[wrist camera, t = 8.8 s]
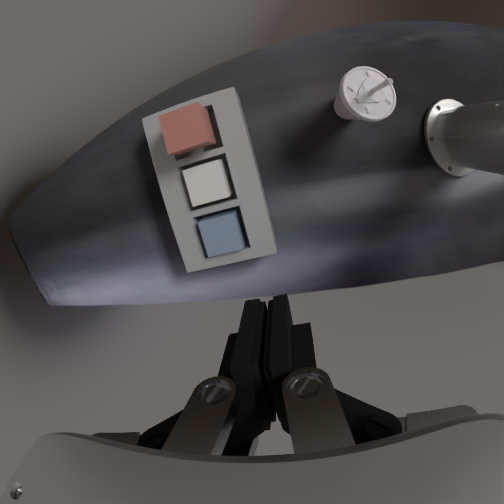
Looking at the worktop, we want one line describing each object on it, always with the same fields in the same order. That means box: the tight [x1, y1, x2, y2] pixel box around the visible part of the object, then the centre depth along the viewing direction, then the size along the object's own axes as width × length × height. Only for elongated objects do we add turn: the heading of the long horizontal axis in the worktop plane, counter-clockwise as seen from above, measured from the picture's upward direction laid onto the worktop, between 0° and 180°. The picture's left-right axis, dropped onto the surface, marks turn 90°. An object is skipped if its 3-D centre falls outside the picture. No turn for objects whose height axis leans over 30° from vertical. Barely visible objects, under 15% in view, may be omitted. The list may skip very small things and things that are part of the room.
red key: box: [158, 102, 216, 155], centre depth 28 cm, size 4×4×4 cm
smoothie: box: [334, 66, 396, 122], centre depth 25 cm, size 6×6×14 cm
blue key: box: [198, 207, 247, 257], centre depth 35 cm, size 4×4×4 cm
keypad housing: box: [142, 87, 277, 273], centre depth 34 cm, size 12×21×5 cm, turn 14°
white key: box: [182, 159, 234, 207], centre depth 33 cm, size 4×4×4 cm
